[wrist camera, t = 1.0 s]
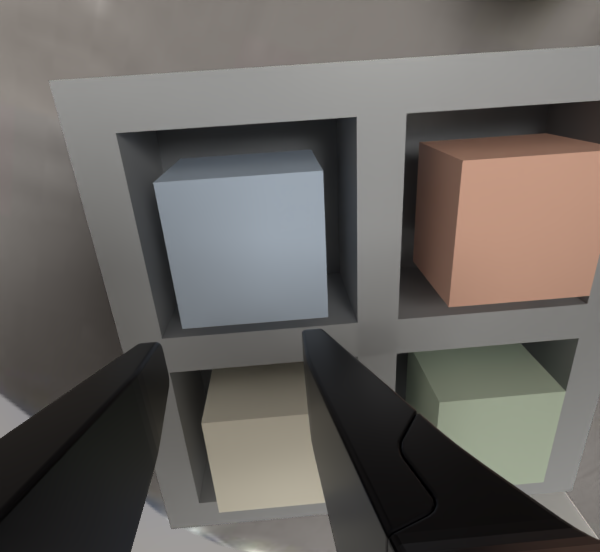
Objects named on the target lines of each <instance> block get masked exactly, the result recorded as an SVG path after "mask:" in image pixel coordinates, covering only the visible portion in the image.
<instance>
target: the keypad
mask: <svg viewBox="0 0 600 552" xmlns="http://www.w3.org/2000/svg"><path fill="white" fill-rule="evenodd" d="M49 84H50V88H51V91H52V95H53V99H54V102H55V106H56V110H57V113H58V117H59V121H60V124H61V128H62V131H63V135H64V139H65V142H66V146H67V150H68V153H69V157H70V161H71V164H72V168H73V172H74V175H75V179H76V183H77V186H78V190H79V194H80V197H81V201H82V205H83V208H84V212H85V216H86V219H87V223H88V227H89V230H90V234H91V238H92V241H93V245H94V248H95V252H96V256H97V259H98V263H99V267H100V270H101V274H102V278H103V281H104V285H105V289H106V292H107V296H108V300H109V303H110V307H111V311H112V314H113V318H114V322H115V325H116V329H117V333H118V336H119V340H120V344H121V347H122V351H123V354H124V353H126V352H127V351H128V350H130V349H131V348H133V347H134V346H136V345H137V344H139V343H147V342H159V343H160V344H161V345H162V348H163V352H164V356H165V360H166V365H167V369H168V374H169V391H168V398H167V404H166V410H165V416H164V423H163V429H162V435H161V441H160V447H159V453H158V457H157V461H156V465H155V472H156V475H157V479H158V483H159V486H160V490H161V493H162V497H163V501H164V504H165V508H166V512H167V515H168V519H169V523H170V526H171V529H176V528H187V527H198V526H208V525H219V524H229V523H240V522H251V521H261V520H272V519H282V518H293V517H303V516H314V515H324V514H328V512H327V508H326V503H317V504H307V505H296V506H286V507H275V508H264V509H254V510H243V511H232V512H222V513H219V510H218V505H217V500H216V495H215V490H214V485H213V480H212V475H211V470H210V465H209V460H208V455H207V450H206V445H205V440H204V435H203V430H202V425H201V422H202V417H203V412H204V407H205V403H206V398H207V393H208V388H209V383H210V378H211V373H212V369H219V368H231V367H243V366H255V365H267V364H279V363H291V362H302V361H303V346H302V331H303V330H306V329H318V328H321V329H323V330H324V331H325V332H327V333H328V334H329V335H330V336H331V337H332V338H333V339H335V340H336V341H337V342H338V343H339V344H340V345H342V346H343V347H344V348H345V349H346V350H347V351H348V352H350V353H351V354H352V355H353V356H354V357H355V358H356V359H358V360H359V361H360V362H361V363H362V364H363V365H365V366H366V367H367V368H368V369H369V370H370V371H371V372H373V373H374V374H375V375H376V376H377V377H378V378H380V379H381V380H382V381H383V382H384V383H385V384H386V385H388V386H389V387H390V388H391V389H392V390H393V391H395V392H396V393H397V394H398V395H399V396H400V397H401V398H403V399H404V400H405V399H406V380H407V362H408V353H409V352H421V351H433V350H445V349H457V348H469V347H481V346H492V345H504V344H516V343H521V344H522V345H523V346H524V347H525V348H526V349H527V351H528V352H529V353H530V354H531V355H532V356H533V357H534V358H535V359H536V360H537V361H538V362H539V363H540V364H541V365H542V367H543V368H544V369H545V370H546V371H547V372H548V373H549V374H550V375H551V376H552V377H553V378H554V379H555V380H556V381H557V382H558V384H559V385H560V386H561V387H562V388H563V389H564V390H565V391H566V393H565V397H564V401H563V405H562V409H561V413H560V417H559V421H558V425H557V430H556V434H555V438H554V442H553V446H552V450H551V454H550V458H549V462H548V466H547V470H546V474H545V478H544V482H541V483H530V484H519V485H515V486H516V487H517V488H519V489H520V490H522V491H523V492H525V493H526V494H527V495H535V494H545V493H556V492H566V491H572V489H573V485H574V482H575V479H576V475H577V472H578V468H579V465H580V461H581V458H582V454H583V451H584V447H585V444H586V440H587V437H588V433H589V430H590V426H591V423H592V420H593V416H594V413H595V409H596V406H597V402H598V399H599V395H600V255H599V259H598V263H597V267H596V271H595V275H594V279H593V283H592V287H591V291H590V296H582V297H570V298H558V299H545V300H533V301H521V302H508V303H496V304H484V305H472V306H459V307H448V306H447V304H446V303H445V302H444V301H443V299H442V298H441V297H440V295H439V294H438V293H437V292H436V290H435V289H434V288H433V286H432V285H431V284H430V283H429V281H428V280H427V279H426V277H425V276H424V275H423V273H422V272H421V271H420V270H419V268H418V267H417V266H416V264H415V263H414V262H413V250H414V232H415V213H416V195H417V176H418V158H419V142H427V141H441V140H456V139H470V138H484V137H499V136H513V135H527V134H542V133H547V134H552V135H557V136H562V137H567V138H572V139H577V140H582V141H587V142H592V143H597V144H600V45H598V46H582V47H567V48H551V49H535V50H519V51H504V52H488V53H472V54H457V55H441V56H425V57H409V58H394V59H378V60H362V61H347V62H331V63H315V64H299V65H284V66H268V67H252V68H237V69H221V70H205V71H189V72H174V73H158V74H142V75H127V76H111V77H95V78H79V79H64V80H49ZM297 150H312V152H313V154H314V155H315V157H316V159H317V161H318V162H319V164H320V166H321V168H322V170H323V183H324V211H325V238H326V266H327V294H328V317H324V318H312V319H299V320H287V321H275V322H262V323H250V324H238V325H225V326H213V327H201V328H189V329H182V325H181V320H180V315H179V310H178V305H177V300H176V295H175V290H174V285H173V280H172V275H171V270H170V265H169V260H168V255H167V250H166V244H165V239H164V234H163V229H162V224H161V219H160V214H159V209H158V204H157V199H156V194H155V189H154V184H153V182H155V181H156V180H157V179H158V178H159V177H160V176H161V175H162V174H164V173H165V172H166V171H167V170H168V169H169V168H170V167H172V166H173V165H174V164H175V163H176V162H177V161H178V160H179V159H182V158H197V157H211V156H226V155H240V154H254V153H269V152H283V151H297Z"/></svg>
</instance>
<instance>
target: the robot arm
mask: <svg viewBox="0 0 600 552" xmlns="http://www.w3.org/2000/svg"><path fill="white" fill-rule="evenodd" d="M302 346H303V361H304V374H305V384H306V395H307V405H308V415H309V426H310V434H311V441H312V446H313V451H314V456H315V460H316V464H317V469H318V473H319V477H320V482H321V486H322V490H323V495H324V499H325V503H326V508H327V512H328V516H329V520H330V525H331V529H332V533H333V538H334V542H335V546H336V551H337V552H600V540H599V539H596V538H594V537H592V536H590V535H588V534H586V533H585V532H583V531H581V530H579V529H577V528H576V527H574V526H573V525H571V524H570V523H568V522H566V521H565V520H563V519H562V518H560V517H559V516H557V515H556V514H555V513H553V512H552V511H550V510H549V509H547V508H546V507H545V506H543V505H542V504H540V503H539V502H537V501H536V500H535V499H533V498H532V497H530V496H529V495H527V494H526V493H525V492H523V491H522V490H520V489H519V488H517V487H516V486H515V485H513V484H512V483H510V482H509V481H507V480H506V479H505V478H503V477H502V476H500V475H499V474H497V473H496V472H495V471H493V470H492V469H490V468H489V467H487V466H486V465H485V464H483V463H482V462H480V461H479V460H478V459H476V458H475V457H474V456H472V455H471V454H470V453H468V452H467V451H465V450H464V449H463V448H461V447H460V446H459V445H457V444H456V443H455V442H454V441H452V440H451V439H450V438H449V437H447V436H446V435H445V434H444V433H443V432H441V431H440V430H439V429H438V428H436V427H435V426H434V425H433V424H432V423H431V422H429V421H428V420H427V419H426V418H425V417H424V416H422V415H421V414H419V413H418V412H417V411H416V410H415V409H414V408H413V407H412V406H411V405H409V404H408V403H407V402H406V401H405V400H404V399H403V398H401V397H400V396H399V395H398V394H397V393H396V392H395V391H393V390H392V389H391V388H390V387H389V386H388V385H386V384H385V383H384V382H383V381H382V380H381V379H380V378H378V377H377V376H376V375H375V374H374V373H373V372H371V371H370V370H369V369H368V368H367V367H366V366H365V365H363V364H362V363H361V362H360V361H359V360H358V359H356V358H355V357H354V356H353V355H352V354H351V353H350V352H348V351H347V350H346V349H345V348H344V347H343V346H342V345H340V344H339V343H338V342H337V341H336V340H335V339H333V338H332V337H331V336H330V335H329V334H328V333H327V332H325V331H324V330H323V329H321V328H318V329H306V330H303V331H302ZM168 391H169V374H168V369H167V365H166V360H165V356H164V352H163V348H162V345H161V344H160V343H159V342H147V343H139V344H137V345H136V346H134V347H133V348H131V349H130V350H128V351H127V352H126V353H124V354H123V355H121V356H120V357H118V358H117V359H115V360H114V361H112V362H111V363H110V364H108V365H107V366H105V367H104V368H102V369H101V370H99V371H98V372H96V373H95V374H93V375H92V376H91V377H89V378H88V379H86V380H85V381H83V382H82V383H80V384H79V385H77V386H76V387H75V388H73V389H72V390H70V391H69V392H67V393H66V394H64V395H63V396H61V397H60V398H58V399H57V400H56V401H54V402H53V403H51V404H50V405H48V406H47V407H45V408H44V409H42V410H41V411H39V412H38V413H37V414H35V415H34V416H32V417H31V418H29V419H28V420H26V421H25V422H23V423H22V424H21V425H19V426H18V427H16V428H15V429H13V430H12V431H10V432H9V433H7V434H6V435H5V436H3V437H2V438H0V552H131V549H132V546H133V542H134V538H135V535H136V532H137V528H138V524H139V521H140V518H141V514H142V510H143V507H144V504H145V500H146V497H147V493H148V490H149V486H150V483H151V479H152V476H153V472H154V469H155V465H156V461H157V457H158V453H159V447H160V441H161V435H162V429H163V423H164V416H165V410H166V404H167V398H168Z"/></svg>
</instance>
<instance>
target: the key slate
mask: <svg viewBox="0 0 600 552" xmlns="http://www.w3.org/2000/svg"><path fill="white" fill-rule="evenodd" d="M153 184H154V189H155V194H156V199H157V204H158V209H159V214H160V219H161V224H162V229H163V234H164V239H165V244H166V250H167V255H168V260H169V265H170V270H171V275H172V280H173V285H174V290H175V295H176V300H177V305H178V310H179V315H180V320H181V325H182V329H189V328H201V327H213V326H225V325H238V324H250V323H262V322H275V321H287V320H299V319H312V318H324V317H328V294H327V266H326V238H325V211H324V183H323V170H322V168H321V166H320V164H319V162H318V161H317V159H316V157H315V155H314V154H313V152H312V150H297V151H283V152H269V153H254V154H240V155H226V156H211V157H197V158H182V159H179V160H178V161H177V162H176V163H175V164H174V165H173V166H172V167H170V168H169V169H168V170H167V171H166V172H165V173H164V174H162V175H161V176H160V177H159V178H158V179H157V180H156V181H155V182H153Z"/></svg>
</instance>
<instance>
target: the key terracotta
mask: <svg viewBox="0 0 600 552" xmlns="http://www.w3.org/2000/svg"><path fill="white" fill-rule="evenodd" d="M599 255H600V144H597V143H592V142H587V141H582V140H577V139H572V138H567V137H562V136H557V135H552V134H547V133H542V134H527V135H513V136H499V137H484V138H470V139H456V140H441V141H427V142H419V158H418V176H417V195H416V213H415V232H414V250H413V262H414V263H415V264H416V266H417V267H418V268H419V270H420V271H421V272H422V273H423V275H424V276H425V277H426V279H427V280H428V281H429V283H430V284H431V285H432V286H433V288H434V289H435V290H436V292H437V293H438V294H439V295H440V297H441V298H442V299H443V301H444V302H445V303H446V304H447V306H448V307H459V306H472V305H484V304H496V303H508V302H521V301H533V300H545V299H558V298H570V297H582V296H590V291H591V287H592V283H593V279H594V275H595V271H596V267H597V263H598V259H599Z"/></svg>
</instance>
